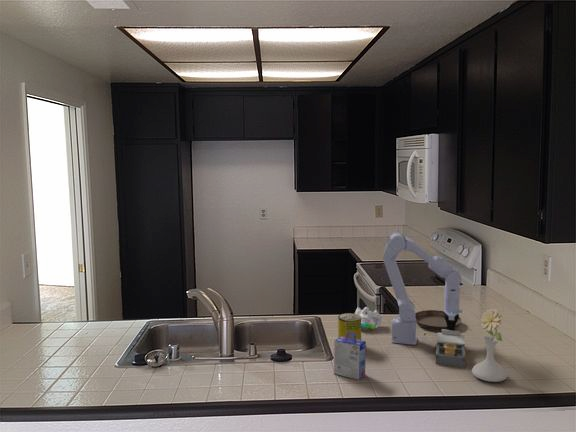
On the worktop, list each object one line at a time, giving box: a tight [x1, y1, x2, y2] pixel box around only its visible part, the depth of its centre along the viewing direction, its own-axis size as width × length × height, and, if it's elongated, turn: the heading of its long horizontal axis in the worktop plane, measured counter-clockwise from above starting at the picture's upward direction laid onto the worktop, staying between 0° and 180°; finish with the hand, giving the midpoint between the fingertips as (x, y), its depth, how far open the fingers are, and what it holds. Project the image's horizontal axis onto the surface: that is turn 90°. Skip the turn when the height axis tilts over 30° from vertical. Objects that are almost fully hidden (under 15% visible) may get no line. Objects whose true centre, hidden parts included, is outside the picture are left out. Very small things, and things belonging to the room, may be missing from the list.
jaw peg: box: [444, 343, 456, 356], centre depth 188 cm, size 4×4×6 cm
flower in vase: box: [471, 308, 508, 383], centre depth 172 cm, size 13×11×25 cm
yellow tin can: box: [337, 312, 362, 340], centre depth 203 cm, size 9×9×12 cm
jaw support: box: [354, 306, 383, 330], centre depth 224 cm, size 12×9×10 cm
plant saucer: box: [415, 309, 462, 332], centre depth 227 cm, size 21×21×3 cm
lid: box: [436, 329, 466, 345], centre depth 199 cm, size 10×10×2 cm
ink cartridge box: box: [333, 332, 367, 380], centre depth 177 cm, size 10×6×14 cm, turn 58°
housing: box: [435, 342, 466, 368], centre depth 193 cm, size 10×18×4 cm, turn 162°
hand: (450, 332), depth 204 cm, fingers closed
